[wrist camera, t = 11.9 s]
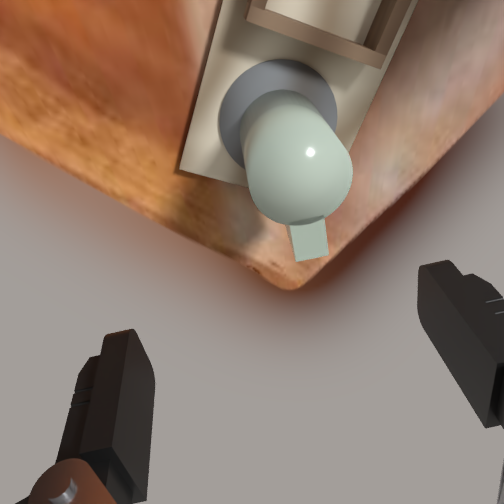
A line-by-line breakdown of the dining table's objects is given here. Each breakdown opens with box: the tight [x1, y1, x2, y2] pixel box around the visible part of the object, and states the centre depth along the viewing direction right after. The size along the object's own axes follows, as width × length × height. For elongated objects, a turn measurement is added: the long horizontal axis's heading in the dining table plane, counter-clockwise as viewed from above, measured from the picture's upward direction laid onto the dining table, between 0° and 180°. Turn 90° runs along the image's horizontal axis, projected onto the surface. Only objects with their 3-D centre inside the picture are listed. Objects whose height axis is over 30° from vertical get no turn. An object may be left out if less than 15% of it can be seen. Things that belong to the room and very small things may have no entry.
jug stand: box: [179, 0, 418, 188], centre depth 35 cm, size 14×24×4 cm, turn 162°
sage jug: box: [239, 89, 353, 262], centre depth 35 cm, size 10×7×10 cm
